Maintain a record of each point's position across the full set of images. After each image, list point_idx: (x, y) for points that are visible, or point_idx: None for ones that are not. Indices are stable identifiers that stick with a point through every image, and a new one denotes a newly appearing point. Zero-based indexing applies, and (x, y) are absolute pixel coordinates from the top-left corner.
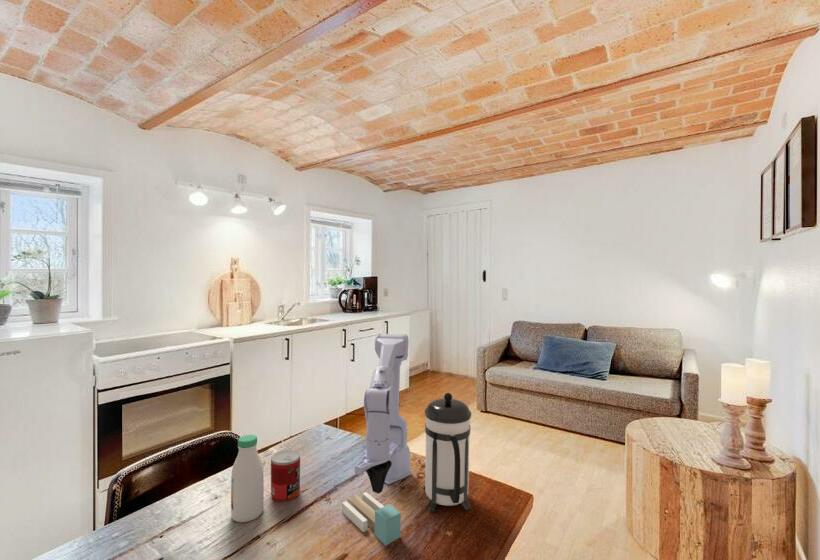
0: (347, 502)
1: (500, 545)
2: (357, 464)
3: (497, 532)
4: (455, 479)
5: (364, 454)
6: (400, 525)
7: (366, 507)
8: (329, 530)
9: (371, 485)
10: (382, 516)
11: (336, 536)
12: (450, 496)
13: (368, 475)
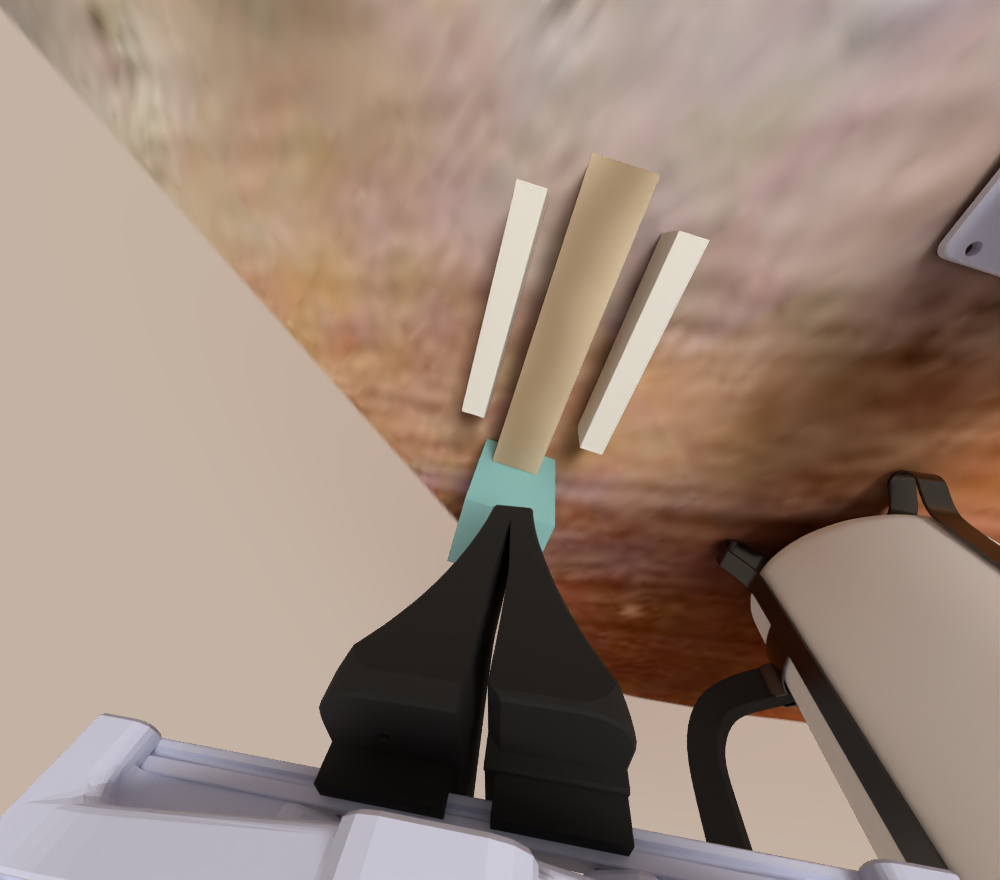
0: (538, 215)
1: (643, 698)
2: (16, 866)
3: (693, 692)
4: None
5: (344, 830)
6: None
7: (568, 347)
8: (383, 252)
9: (483, 526)
10: (456, 541)
11: (382, 313)
12: (757, 673)
13: (433, 588)
